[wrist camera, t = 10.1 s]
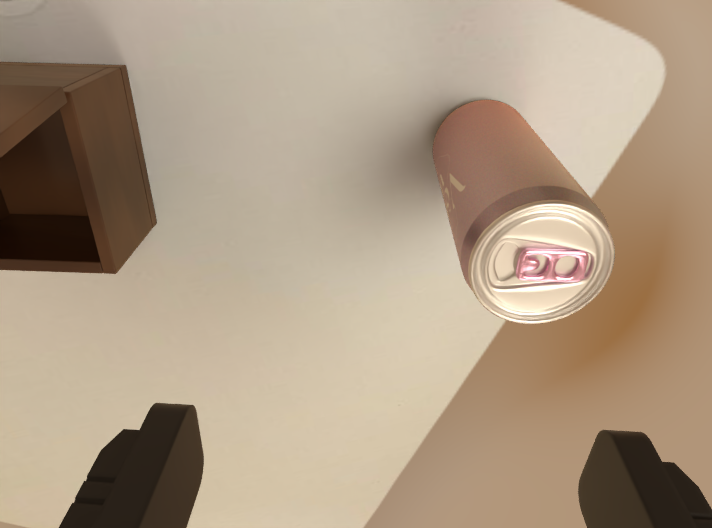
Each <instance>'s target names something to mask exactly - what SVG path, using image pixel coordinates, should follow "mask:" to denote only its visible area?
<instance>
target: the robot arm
mask: <svg viewBox="0 0 712 528" xmlns="http://www.w3.org/2000/svg"><path fill="white" fill-rule="evenodd" d="M203 465H204V456H203V449H202V443H201V437H200V431H199V425H198V419H197V412H196V409H195V407H194V406H193V405H182V404H165V403H155V404H154V405H153V406H152V407H151V408H150V410H149V412H148V414H147V416H146V418H145V420H144V422H143V424H142V426H141V428H140V430H128V429H123V430H122V431H121V432H120V433H119V434H118V435H117V436H116V437H115V438H114V439H113V440H112V441H111V442H110V443H108V444H107V445H106V446H105V447H104V448H103V449H102V450H101V451H100V453H99V455H98V457H97V459H96V461H95V462H94V464H93V466H92V468H91V470H90V472H89V473H88V475H87V480H86V481H84V483H83V484H82V486H81V488H80V490H79V492H78V493H77V495H76V497H75V502H74V503H72V504H71V506H70V508H69V510H68V512H67V514H66V515H65V517H64V519H63V521H62V523H61V525H60V526H59V528H186V527H187V524H188V521H189V518H190V515H191V512H192V509H193V506H194V503H195V500H196V497H197V494H198V491H199V487H200V484H201V479H202V474H203ZM578 490H579V491H578V494H579V503H580V507H581V511H582V514H583V517H584V520H585V523H586V526H587V528H712V509H711V507H710V506H709V504H708V502H707V501H706V499H705V497H704V495H703V494H702V492H701V490H700V489H699V487H698V486H697V485H696V484H695V483H694V482H693V481H692V480H691V479H690V478H689V477H688V476H687V475H686V474H685V473H684V472H683V471H682V470H681V469H680V468H679V467H678V466H677V465H676V464H675V463H671V462H662V461H661V459H660V457H659V455H658V453H657V452H656V450H655V448H654V446H653V444H652V442H651V441H650V439H649V438H648V437H647V435H645V434H644V433H642V432H629V431H611V430H602V431H600V432H599V433H598V435H597V437H596V439H595V442H594V444H593V447H592V449H591V452H590V454H589V457H588V460H587V462H586V464H585V467H584V469H583V472H582V474H581V477H580V480H579V489H578Z"/></svg>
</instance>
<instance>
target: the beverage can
mask: <svg viewBox="0 0 712 528" xmlns="http://www.w3.org/2000/svg"><path fill="white" fill-rule="evenodd" d="M433 159H434V164H435V168H436V172H437V175H438V179H439V183H440V187H441V191H442V195H443V199H444V203H445V206H446V210H447V214H448V218H449V222H450V226H451V230H452V234H453V238H454V241H455V245H456V249H457V253H458V257H459V261H460V265H461V269H462V272H463V275H464V278H465V280H466V282H467V284H468V285H469V287H470V288H471V290H472V291H473V292H474V294H475V296H476V297H477V299H478V300H479V302H480V303H481V304H482V305H483V306H484V307H485V308H486V309H487V310H489V311H490V312H491V313H493V314H494V315H496V316H498V317H500V318H503V319H505V320H508V321H512V322H517V323H524V324H539V323H547V322H551V321H555V320H559V319H562V318H564V317H567V316H569V315H571V314H573V313H575V312H577V311H579V310H580V309H582V308H583V307H584V306H586V305H587V304H589V303H590V302H591V301H592V300H593V299H594V298H595V297H596V296H597V295H598V294H599V293H600V291H601V290H602V289H603V287H604V286H605V284H606V283H607V281H608V279H609V277H610V275H611V272H612V269H613V265H614V259H615V250H614V249H615V248H614V242H613V239H612V236H611V234H610V232H609V229H608V225H607V222H606V219H605V217H604V215H603V213H602V212H601V211H600V209H599V208H598V207H597V205H596V204H595V203H594V202H593V201H592V199H591V198H590V197H589V196H588V195H587V193H586V192H585V191H584V190H583V189H582V188H581V186H580V185H579V184H578V183H577V182H576V180H575V179H574V178H573V177H572V176H571V174H570V173H569V172H568V171H567V170H566V168H565V167H564V166H563V165H562V164H561V162H560V161H559V160H558V159H557V158H556V157H555V155H554V154H553V153H552V152H551V151H550V149H549V148H548V147H547V146H546V145H545V143H544V142H543V141H542V140H541V139H540V137H539V136H538V135H537V134H536V133H535V132H534V130H533V129H532V128H531V127H530V126H529V124H528V123H527V122H526V121H525V120H524V118H523V117H522V116H521V115H520V114H519V113H518V112H517V111H516V110H515V109H514V108H512V107H511V106H509V105H507V104H505V103H502V102H499V101H494V100H479V101H474V102H470V103H467V104H465V105H463V106H461V107H459V108H458V109H456V110H455V111H453V112H452V113H451V114H450V115H449V116H448V117H447V118H446V119H445V120H444V121H443V123H442V124H441V126H440V127H439V129H438V131H437V133H436V136H435V139H434V143H433Z"/></svg>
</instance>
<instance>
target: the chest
mask: <svg viewBox="0 0 712 528" xmlns="http://www.w3.org/2000/svg"><path fill="white" fill-rule="evenodd" d="M0 85H26V86H61V87H63V90H64V93H65V96H66V99H67V103H66V104H64V105H63V106H62V107H61V108H60V109H58V110H57V111H56V112H55V113H54V114H52V115H51V116H50V117H49V118H48V119H46V120H45V121H44V122H43V123H42V124H40V125H39V126H38V127H37V128H36V129H34V130H33V131H32V132H31V133H30V134H28V135H27V136H26V137H25V138H24V139H22V140H21V141H20V142H19V143H18V144H16V145H15V146H14V147H13V148H12V149H10V150H9V151H8V152H7V153H6V154H4V155H3V156H2V157H1V158H0V270H21V271H50V272H80V273H109V274H116V273H117V272H118V271H119V270H120V268H121V267H122V266H123V265H124V263H125V262H126V261H127V259H128V258H129V257H130V256H131V254H132V253H133V252H134V251H135V249H136V248H137V247H138V246H139V244H140V243H141V242H142V241H143V239H144V238H145V237H146V236H147V234H148V233H149V232H150V231H151V229H152V228H153V227H154V226H155V225H156V223H157V221H156V216H155V211H154V205H153V200H152V195H151V190H150V185H149V180H148V175H147V170H146V165H145V160H144V155H143V150H142V144H141V139H140V134H139V129H138V124H137V119H136V114H135V109H134V104H133V99H132V94H131V89H130V83H129V78H128V73H127V68H126V65H99V64H59V63H20V62H0Z"/></svg>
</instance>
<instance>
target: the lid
mask: <svg viewBox="0 0 712 528" xmlns="http://www.w3.org/2000/svg"><path fill="white" fill-rule="evenodd" d="M66 103H67V99H66V96H65V93H64V90H63V87H61V86H26V85H0V158H1V157H2V156H3V155H4V154H6V153H7V152H8V151H9V150H10V149H12V148H13V147H14V146H15V145H16V144H18V143H19V142H20V141H21V140H22V139H24V138H25V137H26V136H27V135H28V134H30V133H31V132H32V131H33V130H34V129H36V128H37V127H38V126H39V125H40V124H42V123H43V122H44V121H45V120H46V119H48V118H49V117H50V116H51V115H52V114H54V113H55V112H56V111H57V110H58V109H60V108H61V107H62V106H63V105H64V104H66Z"/></svg>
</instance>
